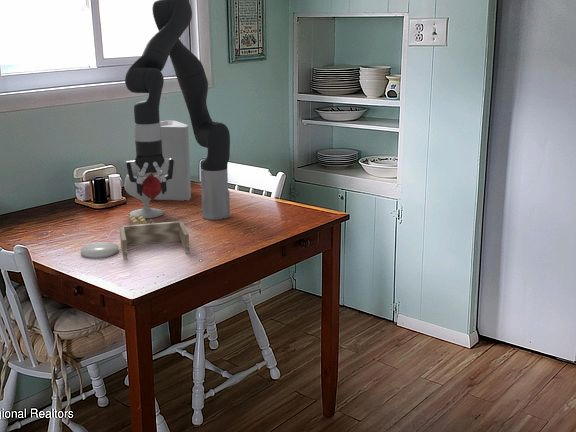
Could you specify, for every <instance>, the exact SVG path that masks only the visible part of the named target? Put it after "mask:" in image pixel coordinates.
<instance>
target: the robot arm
mask: <svg viewBox="0 0 576 432" xmlns="http://www.w3.org/2000/svg"><path fill="white" fill-rule="evenodd" d="M151 10H152V15H153V16H152V17H153V19H154V20H153V21H154V22H155V26H156V28H157V29H158V32H156V33H155V34H154V35H153V36H152V37H151V38H150V39H149V40H148V42H147V43H146V46H145V47H144V50H143V52H142V54H141V56H139V57H138V59H136V60H135V62H134V63H132V64H131V65H130V67H129V68H128V70H127V71H126V74H125V78H124V84H125V86H126V88H127V90H128V91H129V92H131V93H135V94H148V97H147V99H146V100H141V101H138V102H136V103H135V104H134V106H133V113H134V114H133V116H134V141H135V142H134V143H135V159H133V160H126V161H125V165H126V170H127V174H129V179H130V181H131V182H135V183H136V186H137V193H138V194H140V196H142V184H141V180H142V178H143V176H144V174H145V173H150V172H152V173H156V172H158V174H159V176H160V178H161V179H162V181H161V186H162V189H161V191H162V194H165V192H166V191H167V186H166V181H167V180H169V179H172V175H173V165H174V160H173V159H172V158H169V159H166V158H164V157H163V154H162V134H161V127H160V121H161V119H160V104H161V96H162V92H163V88H164V82H165V81H164V80H165V78H164V75H163V73H162V71H163V70H164V68H165V66H166V63H167V61H168V58H170V62H171V64H172V67H173V71H174V73H175V76H176V79H177V83H178V85H179V89H180V90H181V91H180V92H181V93H182V96H183V99H184V103H185V105H186V108H187V111H188V114H189V119H190V122H191V127H192V131H193V137H194V139H195V141H196V143H197V144H198V145H199V146H201V147H203V148H206V149H207V154H206V155H207V156H206V157H205V158H203V159H201V160H200V163H199V164H200V166H199V167H200V189H201V191H200V192H201V193H200V194H201V215H202V218H203V219H206V220H215V221H216V220H223V218H224V219H226V218H230V217H231V206H230V205H231V198H230V190H229V180H228V179H229V178H228V176H229V175H228V174H229V172H228V164H229V161H230V157H231V156H230V155H231V153H230V149H231V135H230V130H229V128H228V126H227V125H226V124H224V123H223V122H218V121H213V119H212V118H211V116H210V112H209V110H208V105H207V100H208V99H207V97H208V90H209V81H208V78H207V75H206V71H205V68H204V66H203V64H202V62H201V60H200V59H199V58H198V56H196V55H195V54H194V53H193V52H192V51H191V50H190V49H189V48H187V46H186V45H184V43H183V42H182V41H181V40H180V38H181V36H182V35H183V33H184V32H185V31H186V29H188V26H189V25H190V24H191V21H192V19H193V9H192V5H191V3H190V1H189V0H156V1H154V2H153V4H152V9H151ZM164 162H166V165H167V166H168V172H167V175H165V176H164V174H163V173H162V171H161V169H160V168H161V166H162V165H163V163H164ZM135 165H136V166H137V167H139V168H140V170H139V169H138V170H139V172H138V175H137V178H135V177H133V172H132V171H133V170H132V169H134V168H135Z"/></svg>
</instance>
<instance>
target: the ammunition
mask: <svg viewBox="0 0 576 432" xmlns="http://www.w3.org/2000/svg"><path fill="white" fill-rule="evenodd" d="M136 217H137V218H135V217H134V215H131V216H130V215H129V216H128V219H129V220H130V222H131V225H139V224H152V223H155V222H154V221H153V220H152V218H147V220H146V218H143V216H141V214H138V215H137V216H136Z"/></svg>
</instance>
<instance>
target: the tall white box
mask: <svg viewBox="0 0 576 432" xmlns="http://www.w3.org/2000/svg"><path fill="white" fill-rule="evenodd" d="M160 127H161V134H162V154H163V157H164V158H166V159H169V158H172V159H173V160H174V165H173V175H172V179H169V180H167V181H166V186H167V191H166V192H165V194H162V193H160V194H159V195H158V196H156V197H155V199H154V200H160V201H184V200H187V201H190V199H191V198H192V194H191V193H192V190H191V189H192V187H191V186H192V185H191V165H190V161H191V160H190V139H189V125H188V124H186V123H183V122H180V121H177V120H162V121H161V120H160ZM137 167H138V166H137ZM160 169H161V171H162V173H163V174H164V176H165V175H167V172H168V166H167V165H166V162H164V163H163V165H162V166H161V168H160ZM137 170H140V168H139V167H138V169H137Z"/></svg>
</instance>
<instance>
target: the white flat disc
mask: <svg viewBox="0 0 576 432" xmlns="http://www.w3.org/2000/svg"><path fill="white" fill-rule="evenodd" d="M119 252H120V251H119V245H118V244H117V243H113V242H109V241H99V242H93V243H87V244H85V245H83V246H82V247H80V255H81V256H82V257H84V258H89V259H104V258H108V257H112V256H114V255H115V256H116V254H118V253H119Z"/></svg>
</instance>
